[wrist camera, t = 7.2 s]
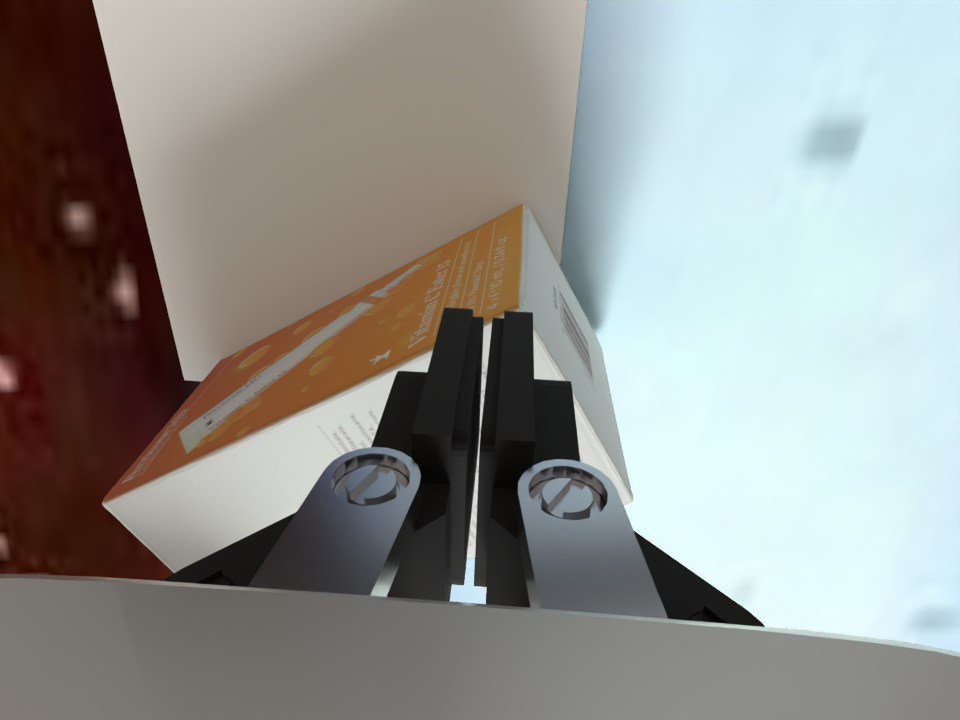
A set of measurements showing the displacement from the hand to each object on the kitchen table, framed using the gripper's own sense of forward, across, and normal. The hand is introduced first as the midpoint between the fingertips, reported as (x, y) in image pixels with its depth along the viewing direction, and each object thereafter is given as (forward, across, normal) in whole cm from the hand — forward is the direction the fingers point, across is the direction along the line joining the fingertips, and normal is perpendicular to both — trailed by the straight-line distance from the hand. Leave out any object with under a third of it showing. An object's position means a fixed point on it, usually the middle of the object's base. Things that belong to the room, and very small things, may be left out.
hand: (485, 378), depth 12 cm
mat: (+10, +5, 0) cm, 11 cm away
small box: (+6, -2, +2) cm, 6 cm away
